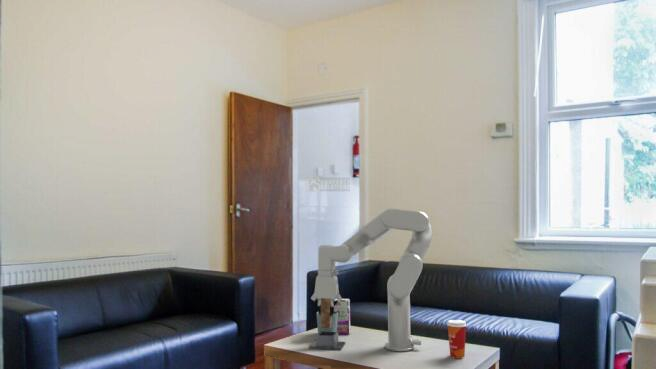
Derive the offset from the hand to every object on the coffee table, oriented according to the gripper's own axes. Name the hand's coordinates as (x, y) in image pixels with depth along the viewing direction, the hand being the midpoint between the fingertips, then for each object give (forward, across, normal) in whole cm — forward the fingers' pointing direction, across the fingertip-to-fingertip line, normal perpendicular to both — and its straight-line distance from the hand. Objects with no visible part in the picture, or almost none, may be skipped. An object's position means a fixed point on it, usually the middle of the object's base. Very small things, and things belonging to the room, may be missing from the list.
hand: (326, 314), depth 219 cm
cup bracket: (+14, -1, 0) cm, 14 cm away
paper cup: (+13, -56, +4) cm, 57 cm away
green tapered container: (+14, +2, -13) cm, 19 cm away
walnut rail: (+5, 0, 0) cm, 5 cm away
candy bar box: (+14, -1, -23) cm, 27 cm away
